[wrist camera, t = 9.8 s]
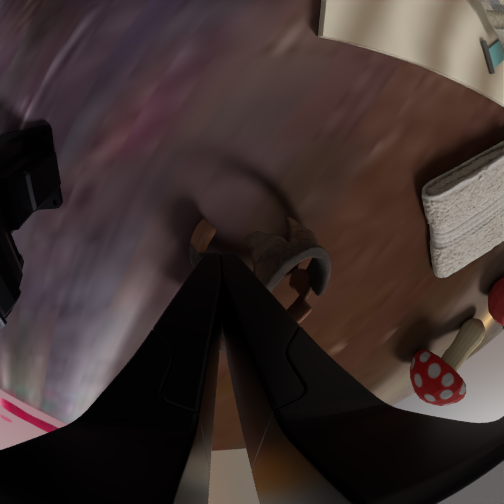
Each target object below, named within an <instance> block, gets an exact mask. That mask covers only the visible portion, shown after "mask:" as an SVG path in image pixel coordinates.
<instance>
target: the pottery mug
mask: <svg viewBox="0 0 504 504" xmlns="http://www.w3.org/2000/svg"><path fill="white" fill-rule="evenodd" d="M286 222H287V226H288V242H287V241H286V240H285V239H284V238H283V237H281V236H278V235H273V234H264V233H262V232H259V231H257V232H254V233H252V234H250V235H248V236H246V237H245V238H244V242H245V244H246V245H247V246H248V248H249V249H250V250H251V258H252V262H253V267H254V268H253V272H254V274H255V275H256V276H257V277H258V279H259V280H260V281H261V282H262V283H263V284H264V285H265V287H266V288H267V289H268V290H269V291H270V292H272V291H273V290H274V288H275V287H276V286H277V284H278V283H279V282H280V280H281V279H282V278H283V276H284V275H285V274H286V273H287V272H288V271H289V270H291V269H292V268H293V267H294V266H295V265H297V264H298V263H299V262H301V261H303V260H305V259H308V258H312V260H311V262H310V263H309V266H308V267H307V269H306V270H305V269H298V268H295V269H294V270H293V272H292V275H291V278H290V282H289V286H290V287H291V288H292V289H294V290H296V291H297V292H298V294H299V296H298V298H297V299H296V300H295V302H294V303H293V304H292V305H291V306H290V307H289V308H288V309H287V311H288V313H289V314H290V315H291V316H292V317H293V318H294V319H295V320H296V322H297V323H298V324H299V323H300V322H301V321H302V320H303V319H305V318H306V317H307V316H308V314H309V313H310V312H311V311H312V307H311V306H310V305H309V304H307V303H306V300H307V298H308V297H309V295H310V293H311V291H312V290H313V291H314V292H315V294H316V295H317V296H321V295H322V293H323V292H324V291H325V289H326V287H327V285H328V282H329V279H330V275H331V269H332V264H331V259H330V255H329V252H328V251H326V250H325V249H324V248H323V247H321V246H319V243H318V240H317V239H316V236H315V234H314V233H313V232H312V231H310V230H308V229H306V228H305V227H303V226H302V225H300V224H299V223H298V222H297V221H295V220H294V219H292V218H290V217H286ZM215 233H216V228H215V227H214V226H212V225H211V224H209V223H208V221H207V220H206V219H202V220H201V221H200V222H199V224H198V225H197V226H196V228H195V230H194V232H193V234H192V237H191V241H190V244H189V259H190V263H191V265H192V267H193V269H194V268H195V267H196V265H197V264H198V262H199V261H200V260H201V258H202V257H203V255H204V254H205V251H206V249H207V246H208V245H209V242H210V241H211V239H212V238H213V236H214V235H215ZM220 352H226V349H225V344H224V339H223V332H222V322H221V341H220Z"/></svg>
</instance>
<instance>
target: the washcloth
mask: <svg viewBox="0 0 504 504" xmlns="http://www.w3.org/2000/svg"><path fill="white" fill-rule="evenodd" d="M422 201H423V206H424V210H425V212H424V213H425V216H426V218H427V220H428V224H429V226H430V227H429V229H430V237H431V239H430V250H431V258H432V261H431V262H432V265H433V266H432V267H433V271H434V274H435V275H436V276H437V277H439V278H442V277H447V276H449V275H451V274H453V273H454V272H456V271H458V270H460V269H461V268H463V267H465V266H466V265H467V264H468V263H470V262H472V261H473V260H475V259H477V258H479V257H480V256H482V255H483V254H485V253H486V252H488V251H490V250H491V249H492V248H493V247H494V246H496V245H499V244H500V243H501V242H502V241H504V141H502V142H501V143H498V144H497V145H495V146H493V147H491V148H489V149H488V150H486V151H484V152H482V153H480V154H478V155H477V156H475V157H473V158H471V159H470V160H468V161H466V162H464V163H462V164H461V165H459V166H458V167H455V168H453V169H452V170H450V171H448V172H446V173H444V174H442V175H440V176H438V177H436V178H435V179H433V180H431V181H429V182H428V183H427V184H425V186H424V187H423V188H422Z"/></svg>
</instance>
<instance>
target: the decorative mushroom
mask: <svg viewBox="0 0 504 504" xmlns="http://www.w3.org/2000/svg"><path fill="white" fill-rule="evenodd" d="M484 334H485V327H484V325H483V322H482V321H481V320H479V319H475V318H471V319H469V320H467V321H465V322H464V324H463V325H462V327H461V328H460V330H459V332H458V334H457V336H456V338H455V340H454V341H453V343H452V344H451V346H450V347H449V348H448V349H447V350H446V351H445V353H444V354H443V355H442V357H441V358H440V357H439V356H437V355H435V354H434V353H432V352H430V351H427V350H420V351H418V352H417V353H416V354H415V355H414V357H413V359H412V362H411V367H410V378H411V382H412V385H413V388H414V391H415V393H416V394H417V395H418V396H419V398H420V399H422V400H423V401H425V402H427V403H430V404H434V405H439V406H443V405H450V404H453V403H456V402H458V401H460V400H461V399H463V398H464V396H465V394H466V384H465V383H464V381H463V379H462V378H461V377H460V375H459V374H458V373H457V372H456V371H457V370H458V369H459V368H460V367H461V366H462V364H463V363H464V361H465V360H466V358H467V357H468V356H469V355H470V353H471V352H472V351H473V350H474V349H475V348H476V347H477V346H478V345H479V344H480V343H481V341H482V340H483V338H484Z"/></svg>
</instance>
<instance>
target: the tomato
mask: <svg viewBox="0 0 504 504" xmlns="http://www.w3.org/2000/svg"><path fill="white" fill-rule="evenodd" d="M488 309H489V313H490V314H491V316H492V317H493V319H494V320H495V321H496V322H497V323H499V324H500V325H502V326H503V329H504V277H503V278H501V279H500V280H498V281H496V282H495V284H494V286H493V287H492V289H491V291H490V293H489V295H488Z"/></svg>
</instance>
